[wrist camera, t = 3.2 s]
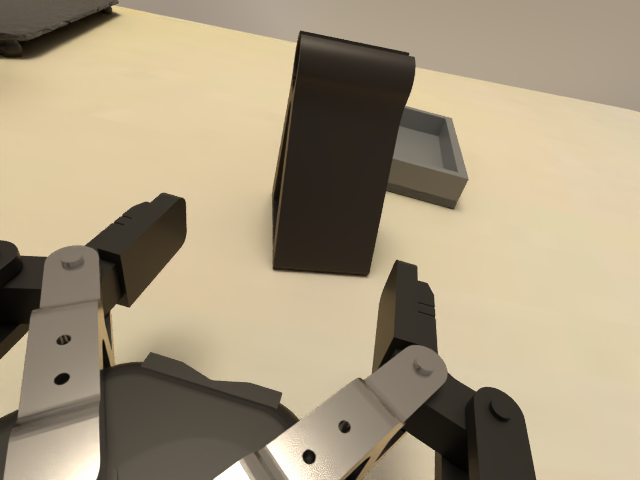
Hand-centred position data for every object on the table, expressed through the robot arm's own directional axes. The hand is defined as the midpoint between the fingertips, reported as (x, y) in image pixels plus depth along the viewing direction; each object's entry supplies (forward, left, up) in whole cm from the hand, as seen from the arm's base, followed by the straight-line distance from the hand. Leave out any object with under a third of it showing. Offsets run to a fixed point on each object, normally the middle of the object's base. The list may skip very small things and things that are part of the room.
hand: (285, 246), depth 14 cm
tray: (+4, +28, -7) cm, 29 cm away
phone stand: (0, +11, -7) cm, 13 cm away
